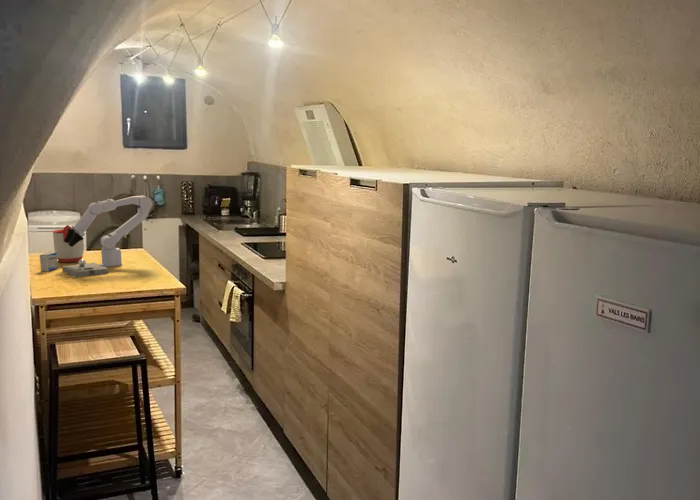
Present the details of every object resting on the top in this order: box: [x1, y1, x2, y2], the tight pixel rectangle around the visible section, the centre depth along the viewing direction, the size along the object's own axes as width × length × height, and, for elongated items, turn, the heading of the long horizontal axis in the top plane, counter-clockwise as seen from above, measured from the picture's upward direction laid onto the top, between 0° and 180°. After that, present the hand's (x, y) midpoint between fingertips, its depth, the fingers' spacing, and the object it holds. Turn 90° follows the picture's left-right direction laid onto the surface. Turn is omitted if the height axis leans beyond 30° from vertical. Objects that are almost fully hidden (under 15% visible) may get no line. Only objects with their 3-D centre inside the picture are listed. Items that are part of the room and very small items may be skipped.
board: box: [61, 262, 109, 278], centre depth 331 cm, size 16×20×2 cm
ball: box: [77, 258, 86, 266], centre depth 334 cm, size 4×4×4 cm
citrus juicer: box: [52, 224, 85, 264], centre depth 360 cm, size 16×17×20 cm
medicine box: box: [39, 251, 59, 272], centre depth 337 cm, size 8×4×9 cm, turn 168°
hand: (67, 244), depth 337 cm, fingers open, 7 cm apart
